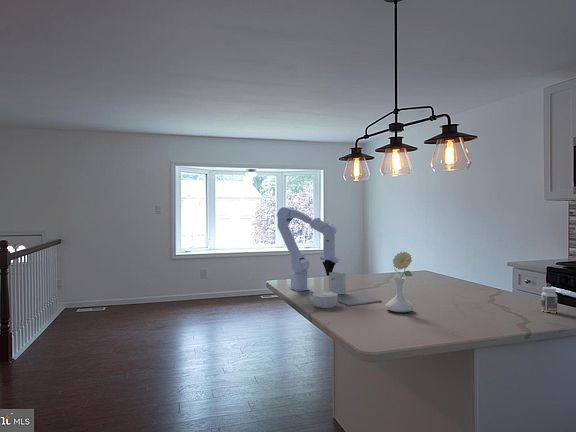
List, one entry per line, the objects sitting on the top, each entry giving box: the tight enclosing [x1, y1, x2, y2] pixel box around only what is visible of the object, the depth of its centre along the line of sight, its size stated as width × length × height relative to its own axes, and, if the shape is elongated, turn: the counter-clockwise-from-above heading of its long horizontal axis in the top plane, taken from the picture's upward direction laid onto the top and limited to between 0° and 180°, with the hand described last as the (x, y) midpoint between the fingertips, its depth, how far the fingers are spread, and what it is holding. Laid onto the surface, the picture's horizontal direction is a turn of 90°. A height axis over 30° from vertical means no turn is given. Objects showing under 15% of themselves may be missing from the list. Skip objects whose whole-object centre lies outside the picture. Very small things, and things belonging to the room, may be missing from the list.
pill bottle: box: [540, 286, 558, 314], centre depth 167 cm, size 6×6×10 cm
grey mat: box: [337, 292, 382, 307], centre depth 188 cm, size 18×18×1 cm
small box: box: [328, 271, 347, 295], centre depth 199 cm, size 8×6×10 cm
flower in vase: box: [384, 251, 415, 313], centre depth 167 cm, size 13×11×25 cm
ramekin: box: [312, 290, 339, 309], centre depth 176 cm, size 11×11×5 cm
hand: (329, 275), depth 205 cm, fingers closed
